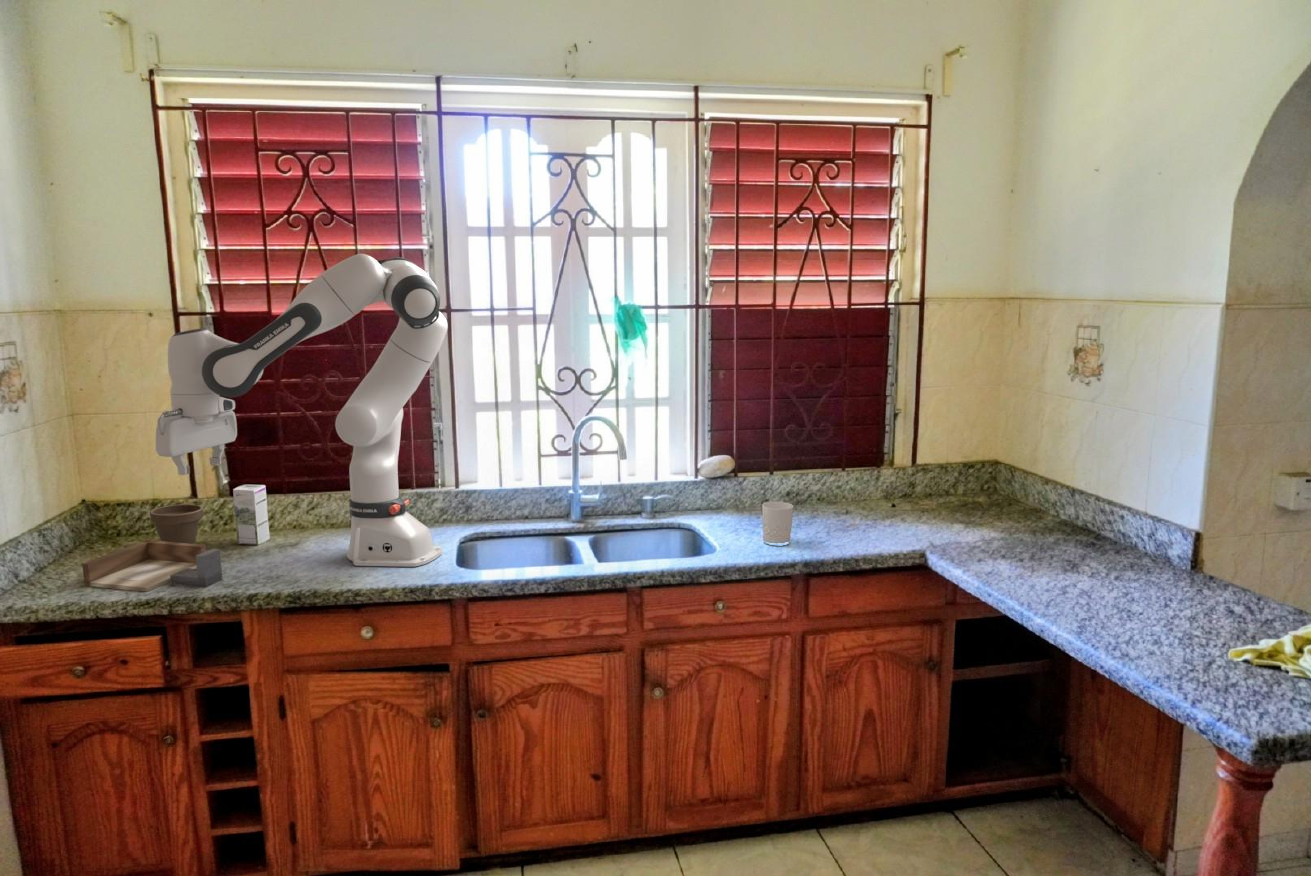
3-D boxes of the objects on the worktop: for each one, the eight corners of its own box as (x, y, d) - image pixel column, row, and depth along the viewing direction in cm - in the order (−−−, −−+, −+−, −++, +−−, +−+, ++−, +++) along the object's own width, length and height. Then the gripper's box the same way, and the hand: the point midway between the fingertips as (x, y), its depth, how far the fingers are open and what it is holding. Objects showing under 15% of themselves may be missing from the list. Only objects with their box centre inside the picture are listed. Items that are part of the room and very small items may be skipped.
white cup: (796, 541, 224) (798, 504, 223) (784, 549, 218) (785, 510, 216) (769, 536, 229) (770, 500, 227) (755, 544, 222) (757, 506, 220)
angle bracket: (222, 579, 193) (219, 549, 192) (206, 587, 188) (203, 556, 187) (187, 576, 195) (184, 546, 194) (170, 583, 190) (167, 553, 189)
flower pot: (209, 539, 222) (206, 501, 221) (202, 552, 212) (198, 512, 210) (159, 543, 219) (155, 505, 217) (148, 557, 208) (144, 516, 206)
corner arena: (207, 565, 202) (205, 544, 201) (147, 591, 185) (145, 569, 184) (149, 560, 206) (147, 540, 205) (84, 585, 188) (82, 563, 188)
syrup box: (270, 538, 224) (266, 484, 221) (258, 545, 218) (253, 489, 215) (249, 538, 224) (245, 483, 222) (236, 544, 218) (231, 488, 216)
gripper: (171, 413, 173) (177, 481, 176) (240, 400, 193) (244, 461, 195) (144, 412, 175) (150, 479, 177) (215, 399, 194) (220, 459, 197)
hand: (200, 469), depth 186 cm, fingers open, 8 cm apart
